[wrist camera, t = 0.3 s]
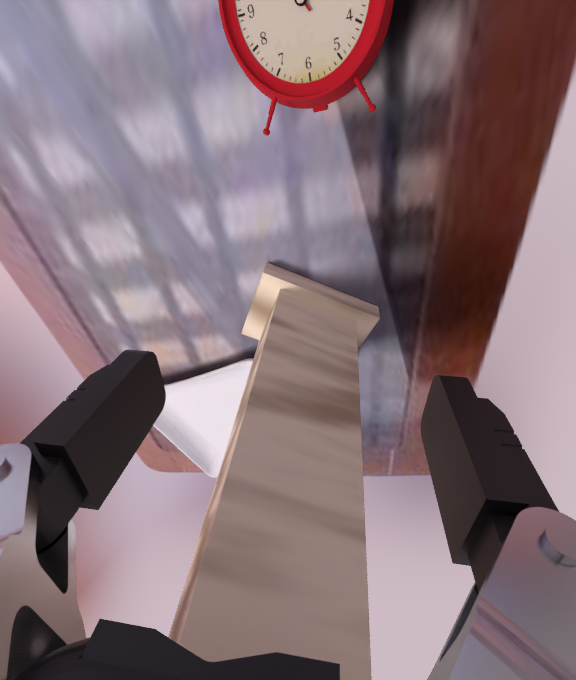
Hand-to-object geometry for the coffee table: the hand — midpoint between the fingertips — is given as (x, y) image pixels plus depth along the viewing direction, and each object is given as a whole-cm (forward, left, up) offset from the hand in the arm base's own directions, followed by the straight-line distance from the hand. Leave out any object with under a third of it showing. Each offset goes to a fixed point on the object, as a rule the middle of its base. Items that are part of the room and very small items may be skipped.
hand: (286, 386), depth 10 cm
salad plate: (+34, +1, -23) cm, 41 cm away
